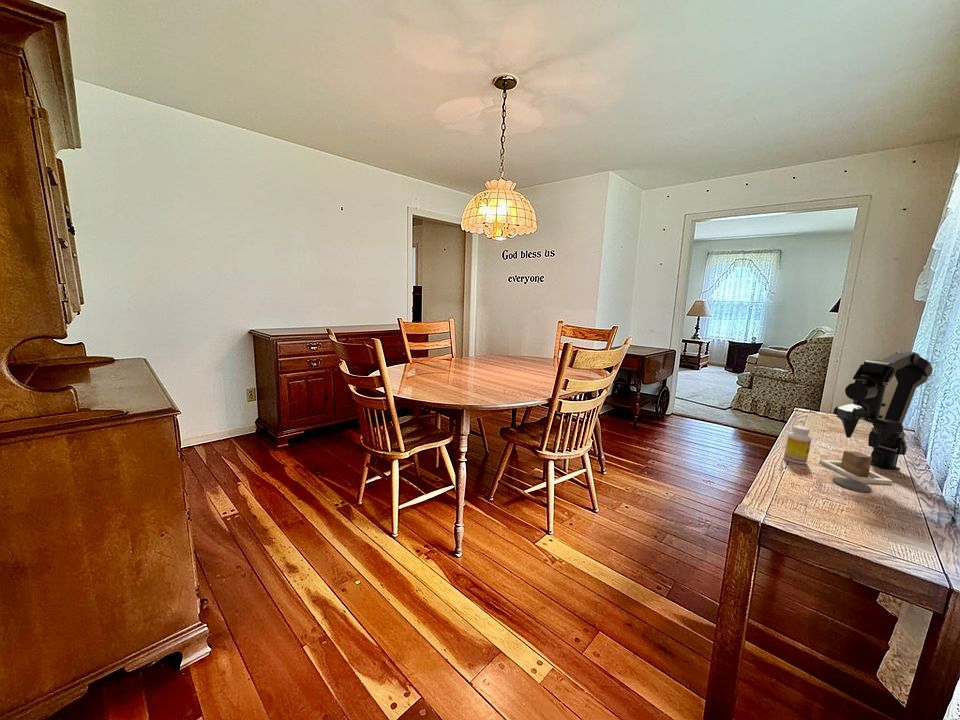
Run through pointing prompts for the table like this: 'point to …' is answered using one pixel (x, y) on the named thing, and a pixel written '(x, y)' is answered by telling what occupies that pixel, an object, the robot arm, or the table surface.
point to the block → (856, 463)
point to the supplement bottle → (798, 445)
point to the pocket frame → (876, 477)
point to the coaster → (851, 484)
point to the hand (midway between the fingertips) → (860, 442)
